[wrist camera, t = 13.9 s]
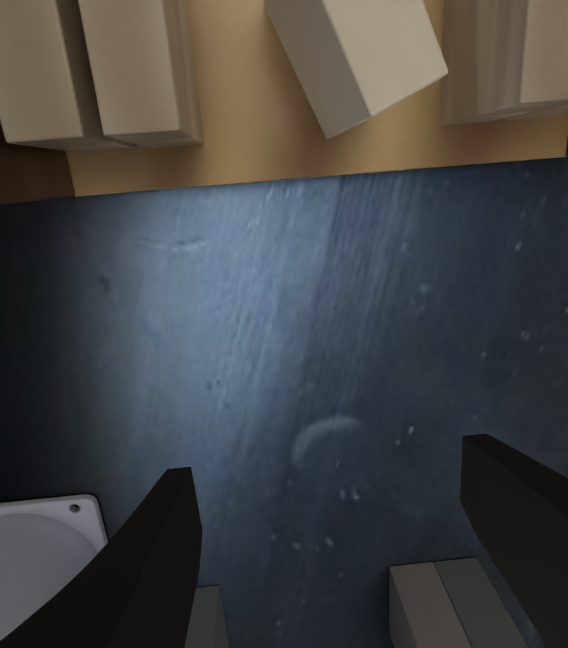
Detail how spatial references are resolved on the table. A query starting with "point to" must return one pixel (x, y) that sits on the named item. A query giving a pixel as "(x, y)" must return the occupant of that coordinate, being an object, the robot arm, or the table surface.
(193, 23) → the wooden book rack
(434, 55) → the white book
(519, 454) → the robot arm
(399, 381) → the table surface
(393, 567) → the grey books
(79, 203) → the table surface
